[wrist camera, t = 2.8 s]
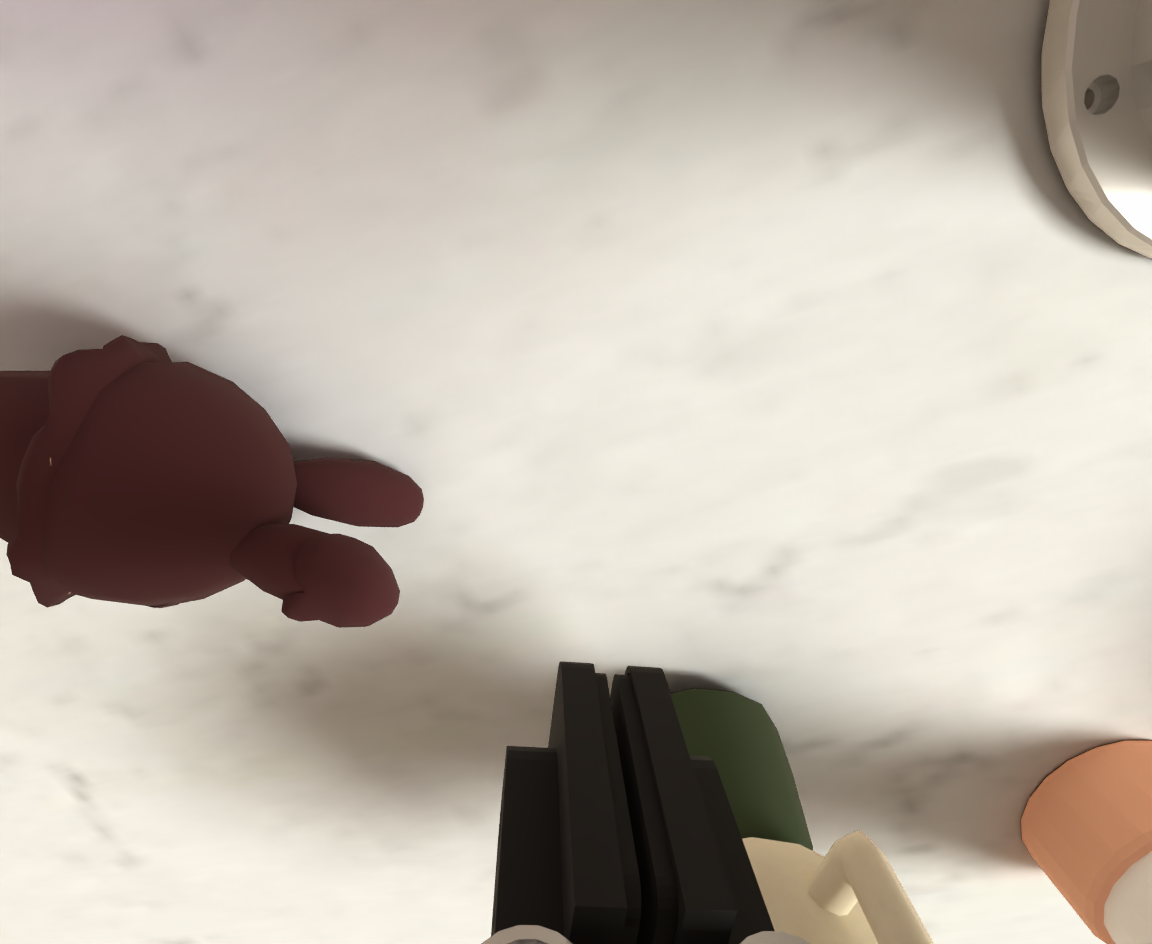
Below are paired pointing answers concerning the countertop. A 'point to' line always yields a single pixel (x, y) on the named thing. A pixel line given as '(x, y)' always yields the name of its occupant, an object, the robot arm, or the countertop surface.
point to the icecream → (181, 492)
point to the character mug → (794, 833)
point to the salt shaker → (1099, 838)
